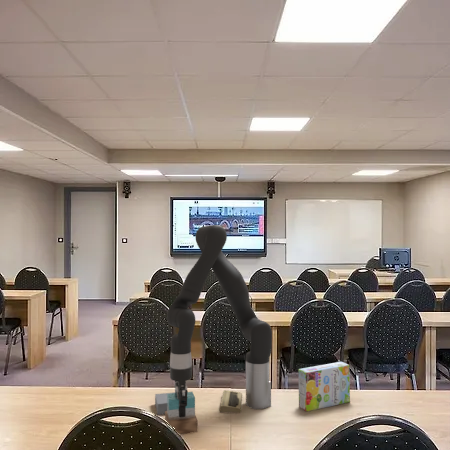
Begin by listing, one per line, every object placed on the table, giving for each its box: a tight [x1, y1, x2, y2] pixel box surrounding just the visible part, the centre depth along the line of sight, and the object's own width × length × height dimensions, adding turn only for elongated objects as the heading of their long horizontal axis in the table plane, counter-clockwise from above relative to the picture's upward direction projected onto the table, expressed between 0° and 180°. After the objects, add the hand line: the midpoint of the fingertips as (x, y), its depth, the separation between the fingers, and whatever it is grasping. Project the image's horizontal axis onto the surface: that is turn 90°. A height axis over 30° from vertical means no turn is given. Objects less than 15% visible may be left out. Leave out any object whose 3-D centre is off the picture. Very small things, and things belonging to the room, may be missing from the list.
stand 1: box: [154, 391, 175, 416], centre depth 172 cm, size 10×10×4 cm
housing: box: [167, 391, 196, 420], centre depth 156 cm, size 9×6×7 cm, turn 104°
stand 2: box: [164, 411, 199, 435], centre depth 156 cm, size 10×10×4 cm
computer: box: [219, 390, 243, 414], centre depth 176 cm, size 16×8×3 cm, turn 176°
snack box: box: [297, 361, 351, 412], centre depth 175 cm, size 21×6×15 cm, turn 115°
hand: (180, 412), depth 156 cm, fingers closed on housing, 5 cm apart
